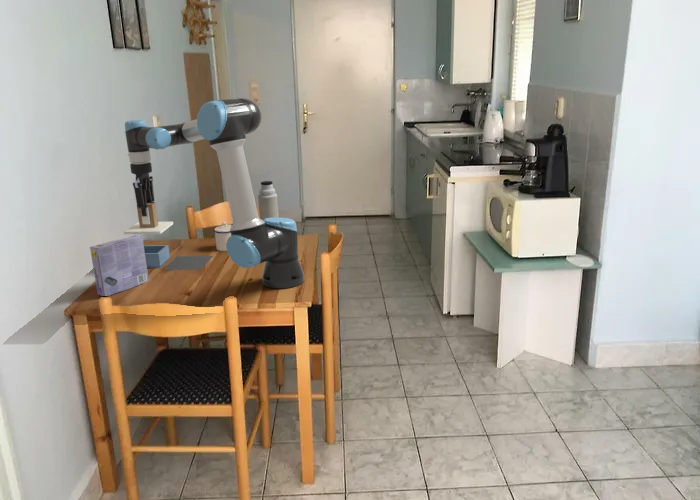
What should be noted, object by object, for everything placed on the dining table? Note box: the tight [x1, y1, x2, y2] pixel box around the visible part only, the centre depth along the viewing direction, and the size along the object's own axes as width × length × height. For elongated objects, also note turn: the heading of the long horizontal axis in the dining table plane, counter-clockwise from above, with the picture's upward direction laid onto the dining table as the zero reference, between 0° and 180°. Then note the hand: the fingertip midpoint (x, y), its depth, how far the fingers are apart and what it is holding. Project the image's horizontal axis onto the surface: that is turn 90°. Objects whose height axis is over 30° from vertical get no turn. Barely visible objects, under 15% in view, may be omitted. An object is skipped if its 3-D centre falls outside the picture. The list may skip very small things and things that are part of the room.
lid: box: [123, 202, 174, 235], centre depth 222 cm, size 14×14×10 cm
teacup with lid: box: [213, 221, 232, 252], centre depth 243 cm, size 12×9×12 cm
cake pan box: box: [89, 234, 149, 297], centre depth 201 cm, size 19×5×18 cm, turn 145°
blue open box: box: [144, 244, 171, 269], centre depth 227 cm, size 11×11×6 cm
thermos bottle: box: [257, 180, 280, 220], centre depth 242 cm, size 8×8×28 cm
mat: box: [163, 255, 214, 271], centre depth 227 cm, size 16×15×1 cm
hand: (148, 222), depth 223 cm, fingers closed on lid, 3 cm apart
